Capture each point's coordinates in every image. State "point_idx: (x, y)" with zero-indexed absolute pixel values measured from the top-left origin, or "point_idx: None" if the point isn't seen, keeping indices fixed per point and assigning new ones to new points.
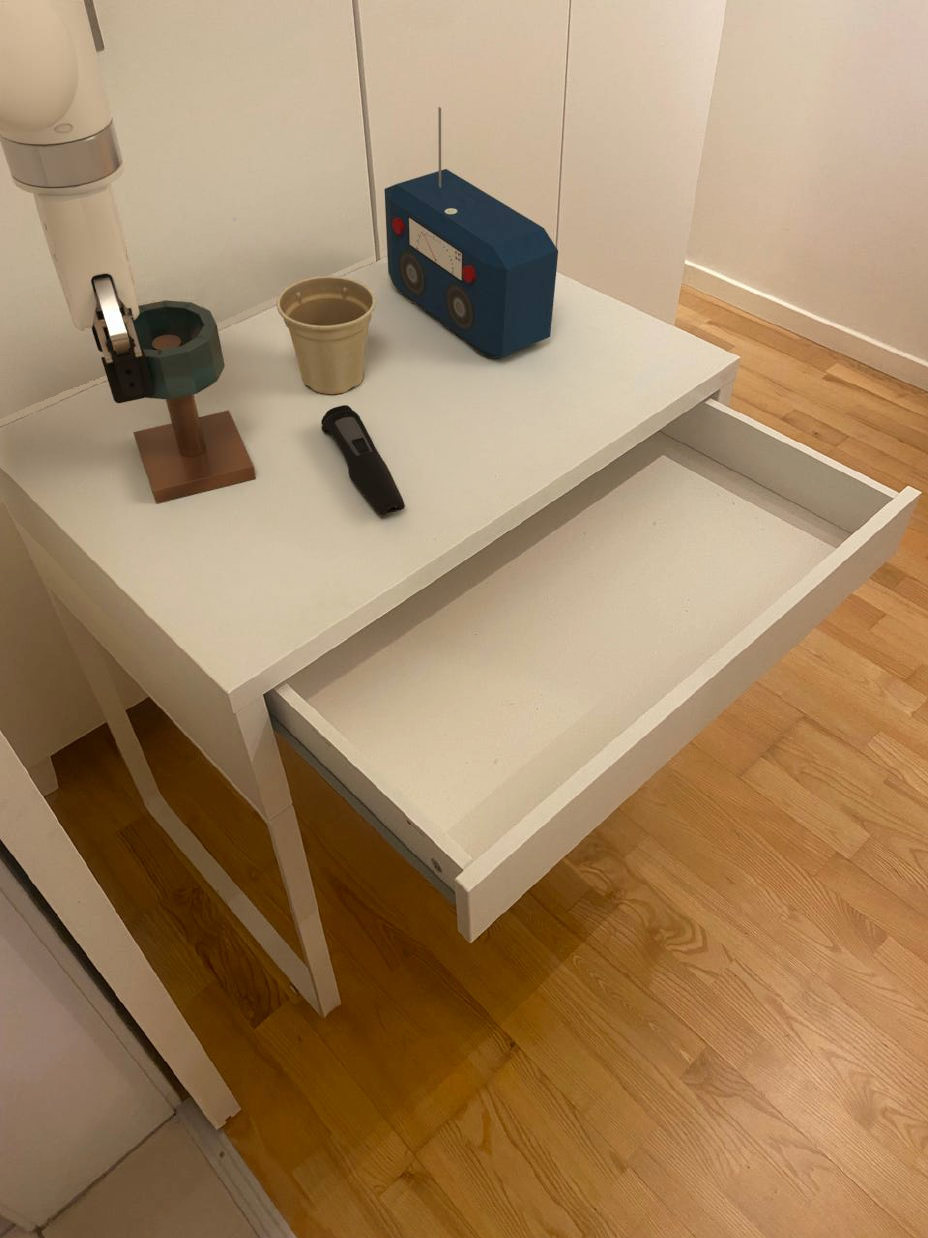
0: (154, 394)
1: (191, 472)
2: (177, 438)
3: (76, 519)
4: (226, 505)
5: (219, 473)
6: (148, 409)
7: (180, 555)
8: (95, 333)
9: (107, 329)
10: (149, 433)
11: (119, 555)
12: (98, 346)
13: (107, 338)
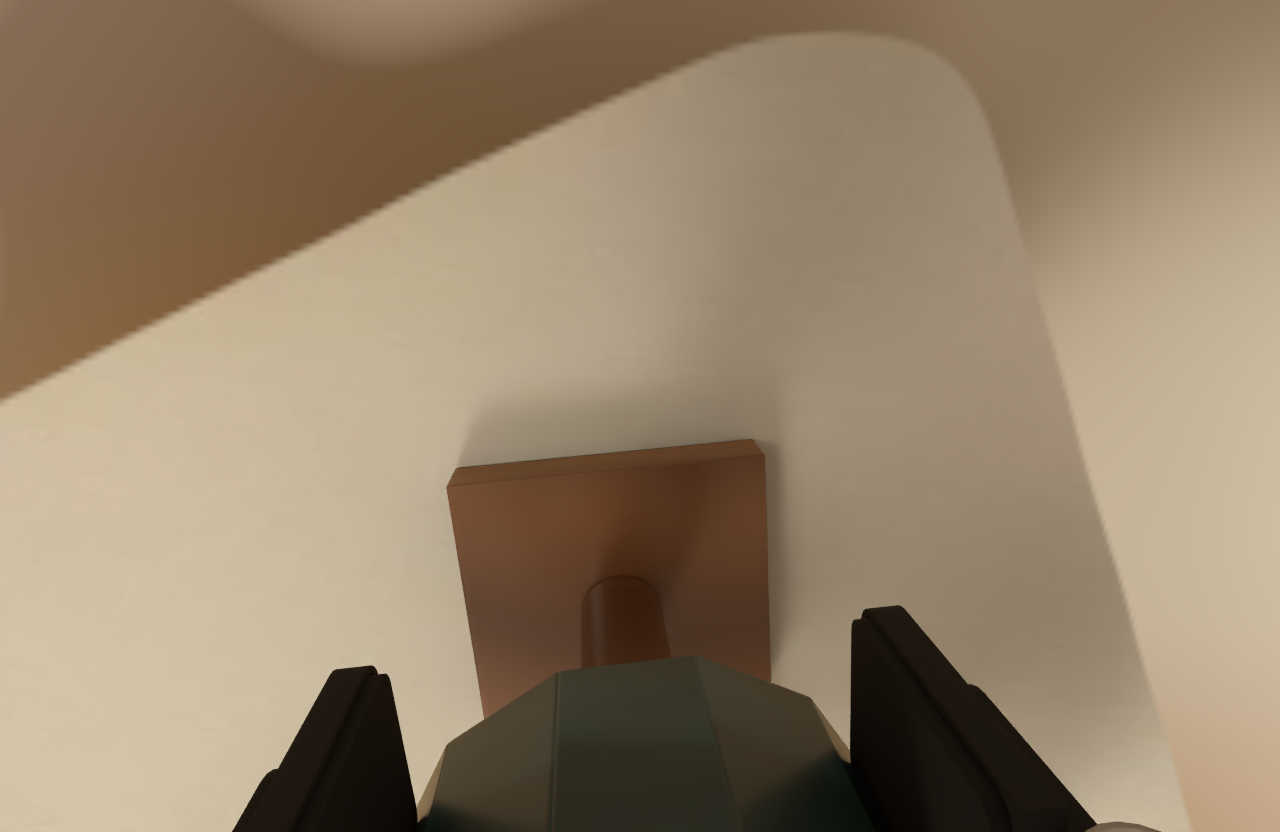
0: (419, 809)
1: (504, 599)
2: (602, 614)
3: (442, 232)
4: (403, 641)
5: (479, 669)
6: (913, 484)
7: (213, 509)
8: (903, 693)
9: (907, 766)
10: (737, 501)
11: (242, 347)
12: (881, 624)
13: (880, 711)
